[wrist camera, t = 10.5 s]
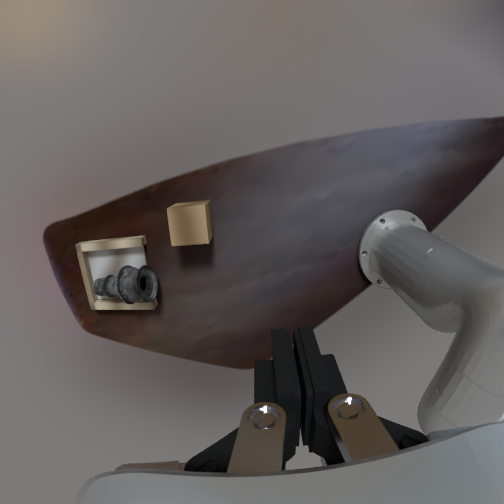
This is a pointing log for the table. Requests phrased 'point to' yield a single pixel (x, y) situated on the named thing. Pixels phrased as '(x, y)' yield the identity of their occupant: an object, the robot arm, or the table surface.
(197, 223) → the oak block
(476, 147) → the table surface
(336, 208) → the table surface
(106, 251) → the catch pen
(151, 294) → the grey chess piece
